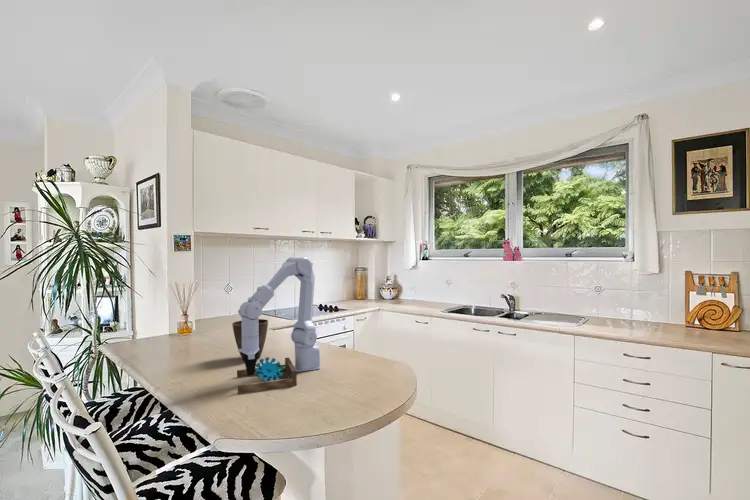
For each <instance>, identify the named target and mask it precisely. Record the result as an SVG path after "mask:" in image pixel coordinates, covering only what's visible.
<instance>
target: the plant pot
mask: <svg viewBox="0 0 750 500" xmlns="http://www.w3.org/2000/svg"><path fill="white" fill-rule="evenodd" d="M268 326H269V319H263V318H261V319H259V351H258V353H259V358H258V360H260V359H261V357H262V354H263V351H264V346H265V342H266V339H267V338H266V337H267V333H268ZM232 330H233V335H234V340H235V343H236V347H237V350H238V349H242V320H238V321H237V320H236V321H234V322H232ZM238 353H239V355H240V357H241V359H242V354H244V353H242V352H238ZM242 360H243V359H242ZM243 361H244V360H243Z"/></svg>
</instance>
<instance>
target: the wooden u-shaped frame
mask: <svg viewBox="0 0 750 500" xmlns="http://www.w3.org/2000/svg"><path fill="white" fill-rule="evenodd" d="M293 365H294V364H293V362H292V360H291V359H290V357H285V358H284V364H280V366H277V365H276V366H277V367H283V366H285V369H284V370H282V373H284V372H285V374H286V376H287V378H279V380H275V379H273V380H272V381H270V380H267V381H265V382H264V381H258V382H251V383H245V384H244V383H243V384H238V385H237V394H238V395H240V394H246V393H253V392H254V393H255V392H260V391H268V390H274V389H280V388H288V387H295V386H297V385H298V383H297V382H298V380H297V377H298V376H297V373H298V372H296V369H295V367H294V366H293ZM257 368H258V369H259V370H261V369H260V368H259V367H255V370H256V369H257ZM258 374H262V373H260V372H258V373H256V372H254V375H249V376H248V375H247V371H246V368H244V369H237V370H236V378H238V379H239V378H248V377H256V376H258ZM262 375H263V374H262Z"/></svg>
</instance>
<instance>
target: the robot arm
mask: <svg viewBox="0 0 750 500" xmlns="http://www.w3.org/2000/svg"><path fill="white" fill-rule="evenodd" d="M313 265H314V264H313V262H312V261H311V260H310V259H309V258H308V257H305V256H303V257H292V256H291V257H289V258H287V259H286V260H285V261H284V262H283V263H282V264H281V266H280V268H279V270H278V271H277V272H276V273H275V274H274V275H273V277H272V278H271V279H270V281H269V282H268V283H267V284H265V285H261V286H257V288H256V291H255V292H254V294H252V296H251V297H248V298H247V301H246V302H243V303H241V305H240V306H239V309H237V311H238V312H237V313H238V315H239V316H240V318H241V321H242V349H238V348H237V352H238V353H239V352H242V353H244V354H242V357H241V359H243V362H244V365H245V369H246V371H247V375H248V377H250V376H249V375H254V372H255V368H256V364H257V363H258V360H259V359H260V358H259V353H258V351H259V318H260V316H261V315H262V314H263V313H262V312H263V309H264V307H265V306H266V305H267V304H268V303H269V302H270V300H271V299H273V298H274V296H275V294H274V293H275V290H277V289H278V287H280V285H281V284H282V283H284V281H286V279H287V278H288V277H292V276H295V277H296V278H297V279H298V280H299V281H300V285H299V286H300V288H299V302H298V312H297V320H296V322H295V323H294V325H293V328H292V332H291V335H290V337H291V338H290V339H291V341H292V342H293V343H294V364H293V366H294V367H295V369H296V372H297V373H298V372H299V373H300V372H307V371H315V370H320V369H321V364H320V363H321V361H320V360H321V359H320V358H321V357H320V346H319V344H316V342H317V339H318V333H317V332H316V331H317V330H316V328H317V327H316V325H315V324H314V323H313V310H314V309H313V308H314V297H315V296H314V295H315V282H316V281H315V279H316V278H315V277H316V276H315V273H314V270H313ZM258 358H259V359H258Z"/></svg>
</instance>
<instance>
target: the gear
mask: <svg viewBox="0 0 750 500" xmlns="http://www.w3.org/2000/svg"><path fill="white" fill-rule="evenodd" d="M269 360H270V357H268V356H266V357H265V359H264V358H259V362H256V366H255V368H257V369H256V370H255V372H256V373H258V372H260V373H262V374H263V375H262V374H258V375H257V378H258V379H261V378H262V382H265V381H268V379H270V380H269V381H272V380H280V378H281V377H282V376H283V373H284V372H282V370H284V369H285V366H283V367H277V366H280V365H281V362H280V361H277V362H276V363H275V361H276V359H275V358H274V357H272V358H271V361H269ZM264 361H265V362H264ZM276 365H277V366H276ZM258 368H260V369H261V370H259V369H258Z"/></svg>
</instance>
